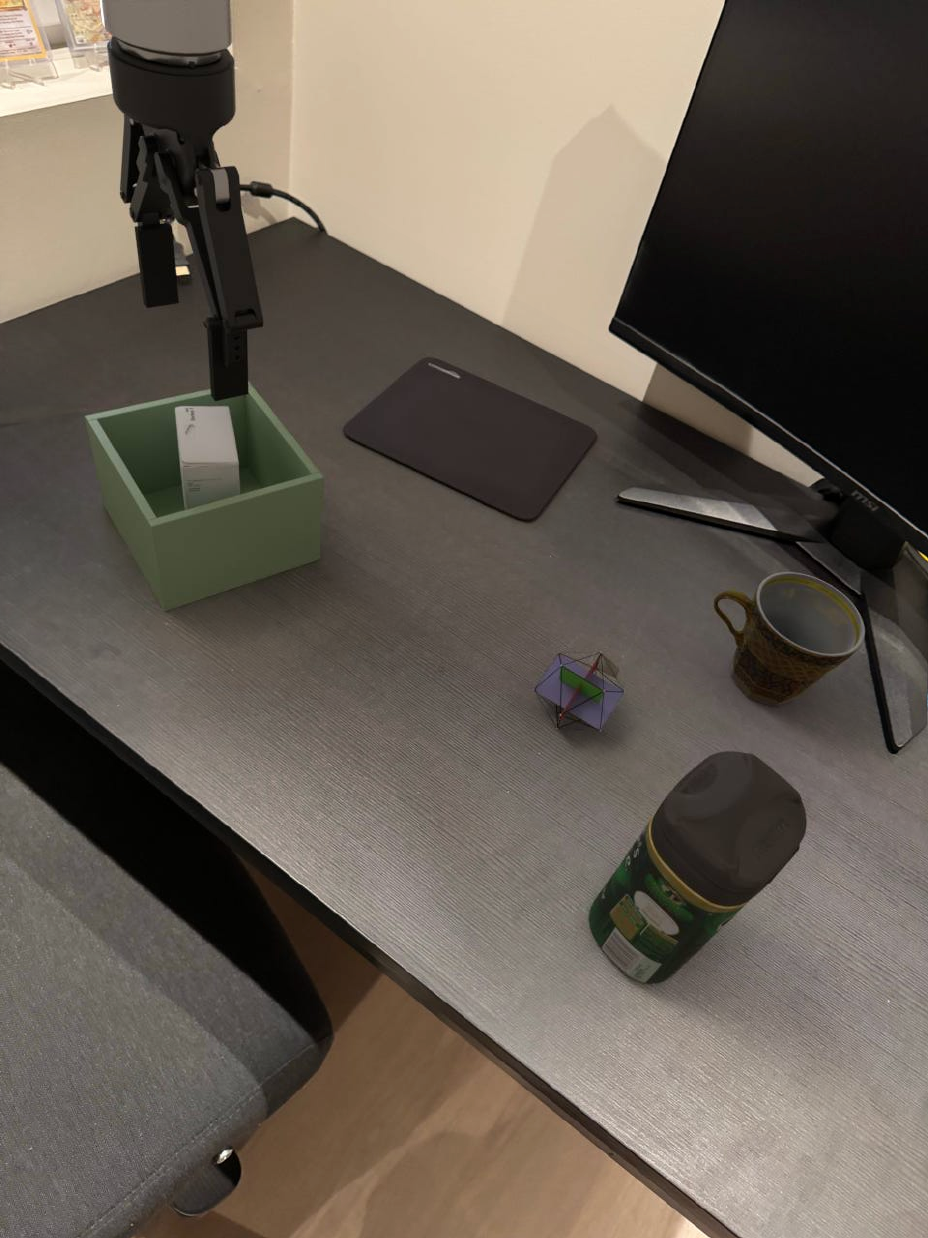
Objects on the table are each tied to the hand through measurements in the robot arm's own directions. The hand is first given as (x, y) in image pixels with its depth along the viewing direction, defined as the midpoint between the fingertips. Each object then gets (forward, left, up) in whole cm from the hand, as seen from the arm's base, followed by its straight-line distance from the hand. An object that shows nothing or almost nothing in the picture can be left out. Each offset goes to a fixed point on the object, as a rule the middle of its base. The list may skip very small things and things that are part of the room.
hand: (194, 347), depth 68 cm
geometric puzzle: (+34, +19, -21) cm, 44 cm away
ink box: (+1, 0, -20) cm, 20 cm away
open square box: (0, 0, -20) cm, 20 cm away
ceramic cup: (+39, +38, -21) cm, 58 cm away
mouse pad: (-3, +34, -20) cm, 40 cm away
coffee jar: (+52, +12, -21) cm, 57 cm away
